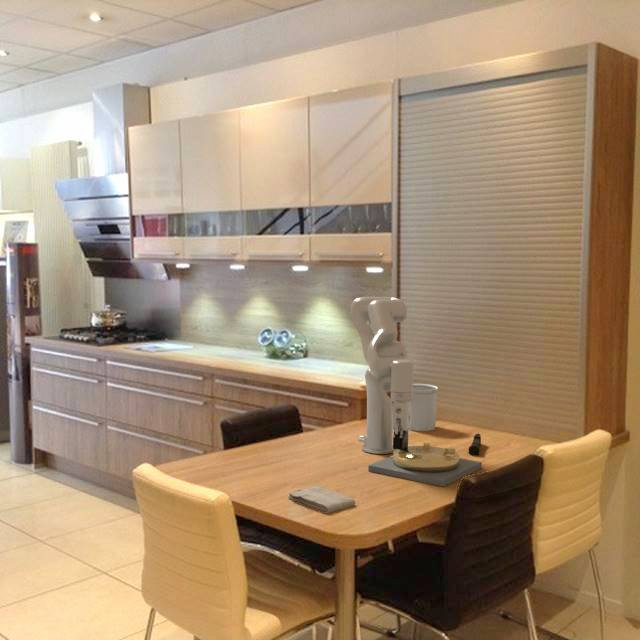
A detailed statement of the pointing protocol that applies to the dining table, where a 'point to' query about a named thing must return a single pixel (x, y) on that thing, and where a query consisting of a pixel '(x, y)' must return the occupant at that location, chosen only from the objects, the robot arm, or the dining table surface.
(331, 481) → the dining table surface
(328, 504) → the washcloth
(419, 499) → the dining table surface
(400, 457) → the beige piece
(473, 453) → the hand tool
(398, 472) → the base plate
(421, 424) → the utensil holder
